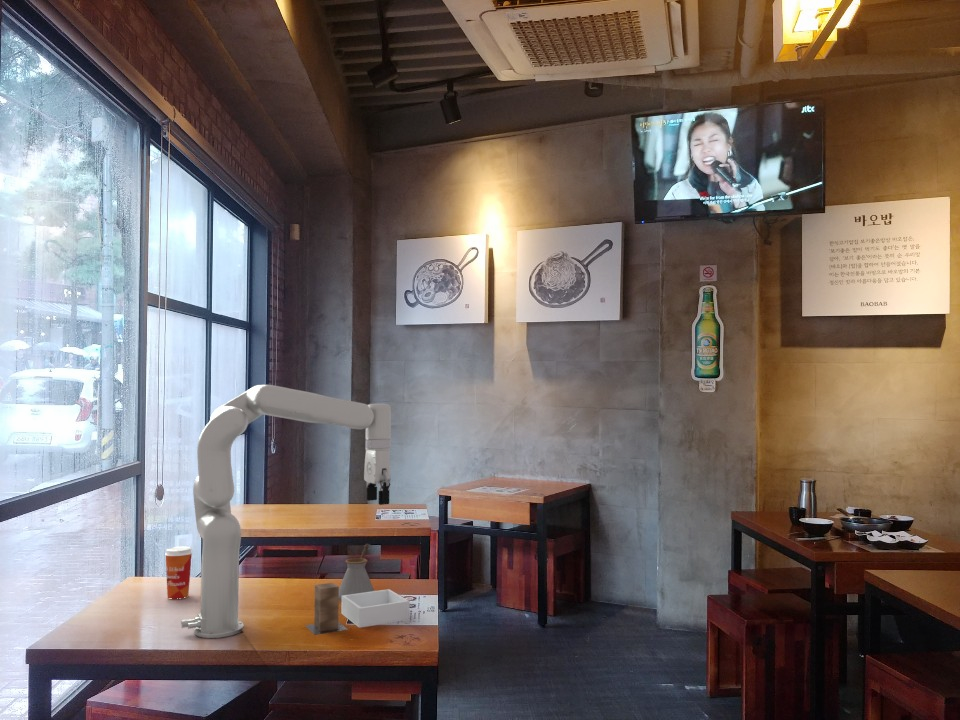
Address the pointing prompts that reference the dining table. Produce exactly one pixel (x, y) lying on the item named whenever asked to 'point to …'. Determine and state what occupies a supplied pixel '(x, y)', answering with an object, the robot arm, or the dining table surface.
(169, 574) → the coffee cup
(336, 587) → the walnut post
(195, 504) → the robot arm
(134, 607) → the dining table surface
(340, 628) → the stud plate
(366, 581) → the coffee pot
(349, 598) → the grey bin
